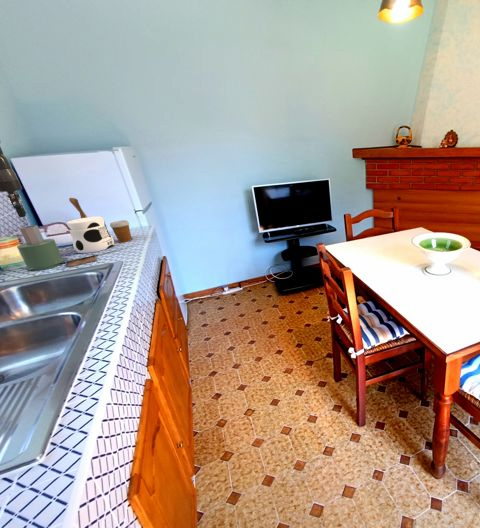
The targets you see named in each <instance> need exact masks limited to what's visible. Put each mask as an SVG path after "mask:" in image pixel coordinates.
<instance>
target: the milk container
mask: <svg viewBox="0 0 480 528" xmlns="http://www.w3.org/2000/svg"><path fill="white" fill-rule="evenodd" d="M66 226H67V229H68V232H69V234H70V235H71V239H72V245H73V250H75V252H76V253H77V254H79V255H83V254H93V253H98V252H102V251H105V250H109V249H111V248H113V247H114V246H115V240H114V238H113V236H112V235H111V234H110V232H109V230H108V227H107V225H106V222H105V220H104V218H103V216H87V218H81V217H80V218H76V219H72V220H69V221H66Z"/></svg>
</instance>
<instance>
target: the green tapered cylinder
mask: <svg viewBox="0 0 480 528" xmlns="http://www.w3.org/2000/svg"><path fill="white" fill-rule="evenodd" d="M43 239H44V241H45V242H43V243H39V244H34V245H27V243H26V242H24V243H21V244H19V245H17V246H16V247H17V250H18V252H19V254H20V256H21V257H22V260H23V262H24V263H25V265H26V268H27V269H28V270H27V272H40V271H45V270H50V269H54V268H57V267H59V266H62V265H64V264H65V263H66V261H63V260H64V258H63V256H62V254H61V251H60V249H59V246H58V245H57V243H56V240H55V239H54V238H43Z"/></svg>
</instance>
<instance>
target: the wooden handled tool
mask: <svg viewBox="0 0 480 528" xmlns="http://www.w3.org/2000/svg"><path fill="white" fill-rule="evenodd" d="M68 201H69V202H70V204H72V206H73V207H74V208H75V209H76V210H77V212H79V216H80V219H81V218H87V217H88V216H87V215H86V213H85V212H84V210H83V209H82V207H81V205H80V203H79V200H78V199H77V198H75V197H69V198H68Z"/></svg>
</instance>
